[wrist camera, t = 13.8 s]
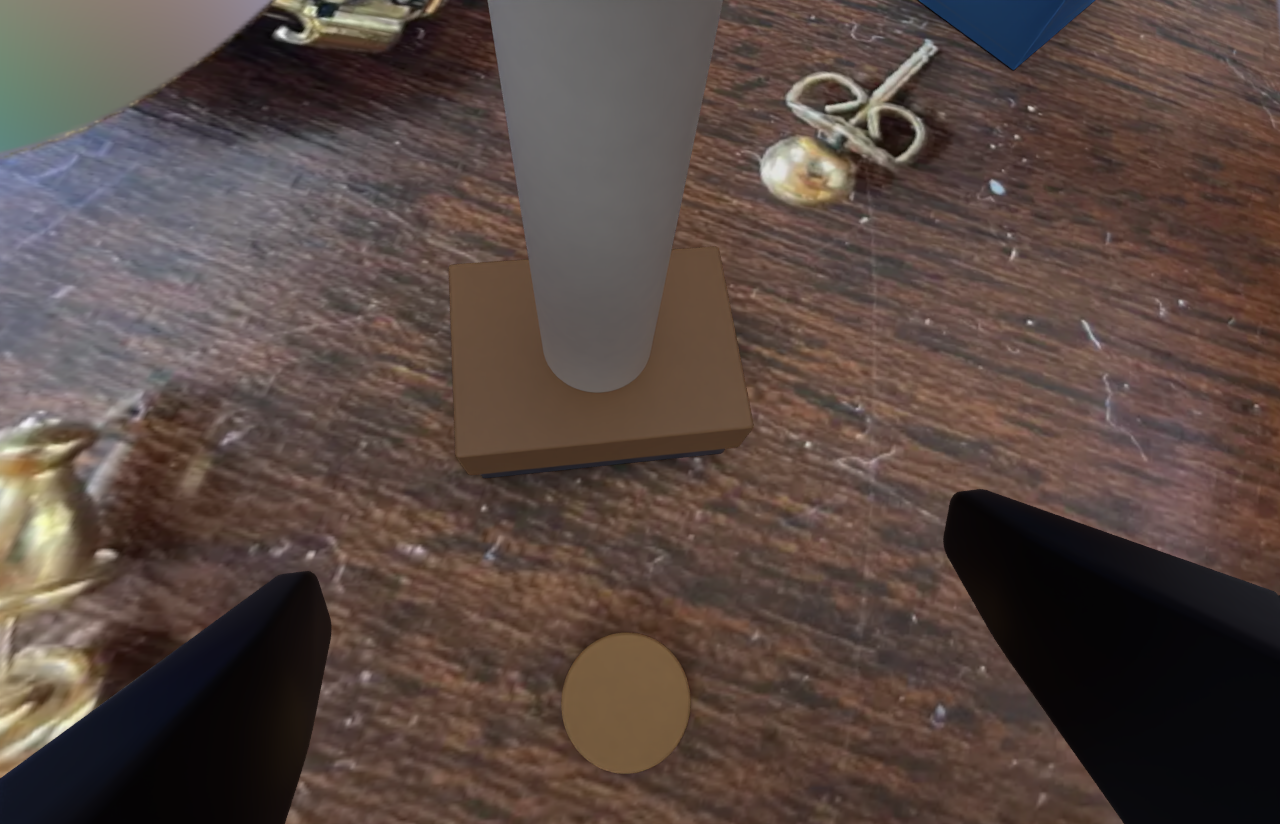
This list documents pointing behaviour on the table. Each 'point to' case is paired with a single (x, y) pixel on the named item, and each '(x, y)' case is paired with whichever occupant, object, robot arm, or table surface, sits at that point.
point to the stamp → (597, 252)
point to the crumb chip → (625, 703)
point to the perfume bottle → (1009, 23)
